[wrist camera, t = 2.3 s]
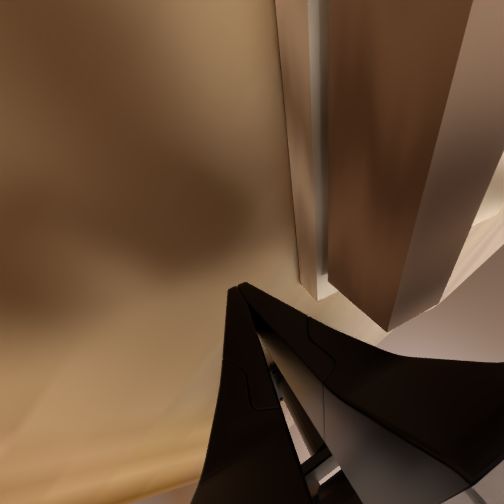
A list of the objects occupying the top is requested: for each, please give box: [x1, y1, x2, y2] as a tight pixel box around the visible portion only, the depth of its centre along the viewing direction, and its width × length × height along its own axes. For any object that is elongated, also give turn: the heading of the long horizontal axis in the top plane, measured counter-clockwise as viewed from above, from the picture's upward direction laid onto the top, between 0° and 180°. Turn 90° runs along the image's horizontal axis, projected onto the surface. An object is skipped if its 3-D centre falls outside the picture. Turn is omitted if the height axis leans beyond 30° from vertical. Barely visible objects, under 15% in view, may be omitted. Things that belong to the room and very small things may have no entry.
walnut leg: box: [328, 0, 504, 332], centre depth 7 cm, size 16×4×4 cm, turn 13°
